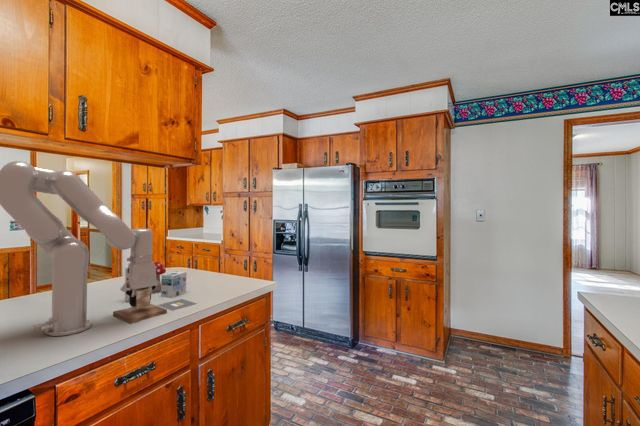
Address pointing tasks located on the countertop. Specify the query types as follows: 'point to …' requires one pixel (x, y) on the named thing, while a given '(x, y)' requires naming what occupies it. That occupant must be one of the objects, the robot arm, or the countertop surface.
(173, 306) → the mat
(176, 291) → the light bulb box
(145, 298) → the birch block
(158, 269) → the decorative mushroom
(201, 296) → the countertop surface
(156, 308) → the walnut board
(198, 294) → the countertop surface
